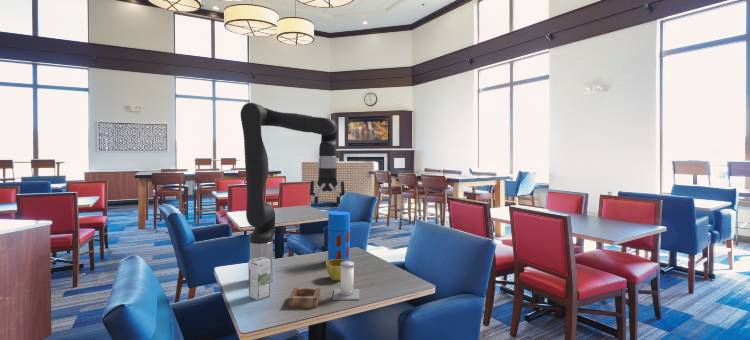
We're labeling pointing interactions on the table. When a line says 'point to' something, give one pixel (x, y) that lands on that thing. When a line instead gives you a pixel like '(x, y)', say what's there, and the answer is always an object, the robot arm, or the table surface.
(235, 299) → the table surface
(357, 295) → the coaster
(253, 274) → the syrup box
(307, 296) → the wooden tray
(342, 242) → the thermos
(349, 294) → the white lidded jar
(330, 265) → the flower pot
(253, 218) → the robot arm
